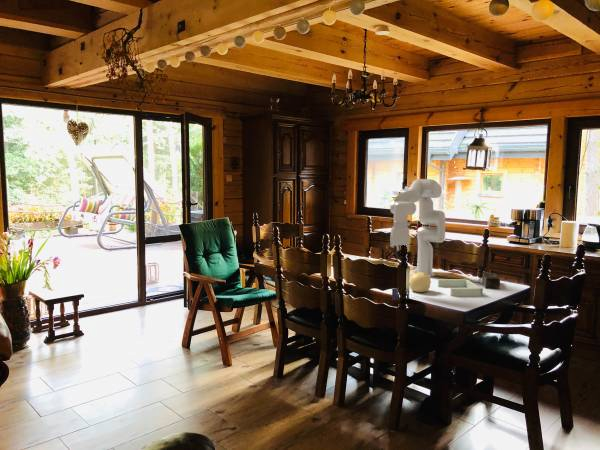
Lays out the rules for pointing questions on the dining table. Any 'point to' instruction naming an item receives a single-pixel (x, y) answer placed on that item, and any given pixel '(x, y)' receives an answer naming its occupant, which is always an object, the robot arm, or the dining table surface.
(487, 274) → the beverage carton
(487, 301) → the dining table surface
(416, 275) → the pale yellow ball
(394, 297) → the flask
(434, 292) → the dining table surface
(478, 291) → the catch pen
